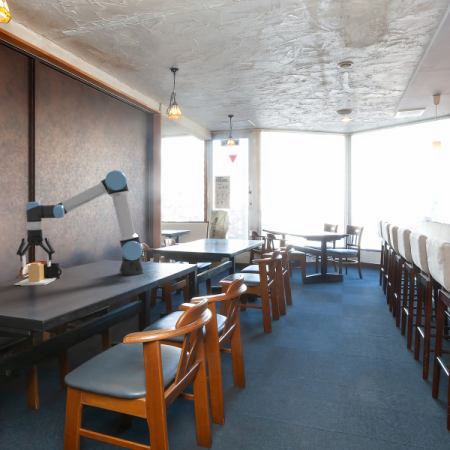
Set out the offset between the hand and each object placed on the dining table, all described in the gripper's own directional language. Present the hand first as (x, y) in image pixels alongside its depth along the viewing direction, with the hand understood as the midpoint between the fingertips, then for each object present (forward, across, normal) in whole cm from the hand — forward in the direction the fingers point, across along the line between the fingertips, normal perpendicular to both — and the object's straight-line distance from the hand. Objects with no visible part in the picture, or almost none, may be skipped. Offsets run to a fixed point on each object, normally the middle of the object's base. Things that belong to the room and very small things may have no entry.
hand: (36, 266), depth 210 cm
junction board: (+9, +1, -2) cm, 9 cm away
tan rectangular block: (+8, +1, 0) cm, 8 cm away
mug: (+10, -5, -10) cm, 15 cm away
